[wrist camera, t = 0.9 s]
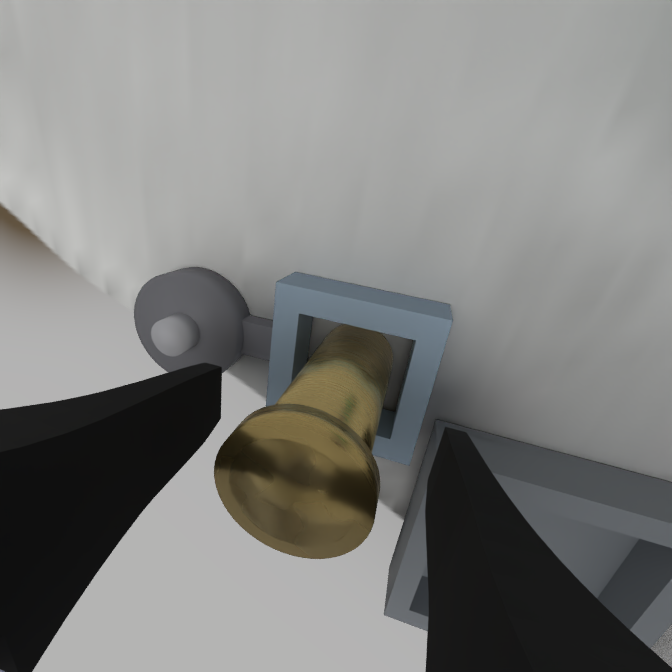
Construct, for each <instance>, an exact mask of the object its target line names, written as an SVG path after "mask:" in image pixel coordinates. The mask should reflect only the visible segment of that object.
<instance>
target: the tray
mask: <svg viewBox="0 0 672 672" xmlns="http://www.w3.org/2000/svg"><path fill="white" fill-rule="evenodd" d="M445 427H449V428H452V429H456V430H460V431H464V432H467V434H468V435H469V437H470V438H471V440H472V442H473V443H474V445H475V447H476V448H477V450H478V451H479V453H480V455H481V456H482V458H483V459H484V461H485V463H486V464H487V466H488V467H489V469H490V470H491V472H492V473H493V475H494V476H495V478H496V479H497V481H498V482H499V484H500V485H501V487H502V488H503V490H504V491H505V492H506V494H507V495H508V497H509V498H510V499H511V501H512V502H513V503H514V505H515V506H516V507H517V509H518V510H519V511H520V513H521V514H522V515H523V517H524V518H525V519H526V521H527V522H528V523H529V524H530V526H531V527H532V528H533V529H534V530H535V532H536V533H537V534H538V535H539V536H540V538H541V539H542V540H543V541H544V542H545V543H546V545H547V546H548V547H549V548H550V549H551V550H552V551H553V553H554V554H555V555H556V556H557V557H558V558H559V559H560V561H561V562H562V563H563V564H564V565H565V566H566V567H567V568H568V569H569V570H570V571H571V572H572V573H573V575H574V576H575V577H576V578H577V579H578V580H579V581H580V582H581V583H582V584H583V585H584V586H585V587H586V588H587V589H588V590H589V591H590V592H591V593H592V594H593V595H594V596H595V597H596V598H597V599H598V600H599V601H600V602H601V603H602V604H603V605H604V606H605V607H606V608H607V609H608V610H609V611H610V612H611V613H612V614H613V615H614V616H615V617H617V618H618V619H619V620H620V621H621V622H622V623H623V624H624V625H625V626H626V627H627V628H628V629H629V630H630V631H631V632H632V633H634V634H635V635H636V636H637V637H638V638H639V639H640V640H641V641H642V642H644V643H645V644H646V645H647V646H648V647H649V648H651V647H652V646H653V645H654V644H655V642H656V641H657V640H658V639H659V638H660V637H661V636H662V634H663V633H664V632H665V631H666V630H667V629H668V628H669V627H670V625H671V624H672V482H668V481H664V480H661V479H657V478H653V477H649V476H646V475H642V474H638V473H635V472H631V471H627V470H623V469H620V468H616V467H612V466H608V465H605V464H601V463H597V462H593V461H590V460H586V459H582V458H578V457H575V456H571V455H567V454H564V453H560V452H556V451H552V450H549V449H545V448H541V447H537V446H534V445H530V444H526V443H522V442H519V441H515V440H511V439H508V438H504V437H500V436H496V435H493V434H489V433H485V432H481V431H478V430H474V429H470V428H466V427H463V426H459V425H455V424H451V423H448V422H444V421H440V420H437V419H436V421H435V425H434V428H433V431H432V434H431V437H430V440H429V444H428V447H427V450H426V453H425V456H424V459H423V462H422V466H421V469H420V472H419V475H418V478H417V481H416V485H415V488H414V491H413V494H412V497H411V500H410V504H409V507H408V510H407V513H406V516H405V519H404V522H403V526H402V529H401V532H400V535H399V538H398V541H397V545H396V548H395V551H394V554H393V557H392V560H391V564H390V567H389V575H388V584H387V593H386V601H385V610H384V615H385V616H388V617H391V618H394V619H396V620H399V621H402V622H404V623H407V624H410V625H412V626H415V627H418V628H420V629H423V630H426V631H428V615H429V595H428V571H427V548H426V524H425V506H426V493H427V481H428V477H429V474H430V471H431V468H432V465H433V462H434V459H435V456H436V453H437V450H438V447H439V444H440V441H441V438H442V435H443V432H444V429H445Z"/></svg>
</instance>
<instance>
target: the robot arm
mask: <svg viewBox="0 0 672 672" xmlns="http://www.w3.org/2000/svg"><path fill="white" fill-rule="evenodd" d="M221 376H222V367H220V366H217V365H213V364H209V363H200V364H196V365H192V366H188V367H185V368H182V369H178V370H175V371H172V372H169V373H165V374H162V375H159V376H156V377H152V378H149V379H146V380H143V381H139V382H136V383H132V384H128V385H125V386H121V387H117V388H114V389H110V390H107V391H103V392H99V393H95V394H90V395H86V396H81V397H76V398H71V399H67V400H62V401H56V402H50V403H44V404H37V405H30V406H23V407H17V408H10V409H2V410H0V672H32V671H33V669H34V668H35V666H36V665H37V663H38V661H39V660H40V658H41V656H42V655H43V653H44V652H45V650H46V649H47V647H48V646H49V644H50V642H51V641H52V639H53V638H54V636H55V635H56V633H57V631H58V630H59V628H60V627H61V625H62V624H63V622H64V621H65V619H66V617H67V616H68V615H69V613H70V612H71V610H72V608H73V607H74V606H75V604H76V602H77V601H78V600H79V598H80V597H81V595H82V594H83V592H84V591H85V589H86V588H87V586H88V585H89V583H90V582H91V581H92V579H93V577H94V576H95V575H96V573H97V572H98V571H99V569H100V568H101V566H102V565H103V563H104V562H105V561H106V559H107V558H108V557H109V555H110V554H111V552H112V551H113V549H114V548H115V547H116V545H117V544H118V543H119V541H120V540H121V539H122V537H123V536H124V535H125V533H126V532H127V530H128V529H129V528H130V527H131V525H132V524H133V523H134V522H135V520H136V519H137V517H138V516H139V515H140V514H141V512H142V511H143V510H144V509H145V508H146V506H147V505H148V504H149V503H150V502H151V500H152V499H153V498H154V497H155V496H156V495H157V494H158V493H159V492H160V490H161V489H162V488H163V487H164V486H165V485H166V484H167V483H168V482H169V481H170V480H171V479H172V477H173V476H174V475H175V474H176V473H177V472H178V471H179V470H180V469H181V468H182V467H183V466H184V464H185V463H186V462H187V461H188V460H189V459H190V458H191V457H192V456H193V454H194V453H195V452H196V451H197V450H198V449H199V448H200V447H201V445H202V444H203V443H204V442H205V440H206V439H207V438H208V436H209V435H210V433H211V432H212V431H213V429H214V428H215V426H216V425H217V423H218V422H219V420H220V419H221V381H222V377H221ZM425 524H426V548H427V571H428V595H429V615H428V638H427V658H426V672H672V668H671V667H670V666H669V665H668V664H667V663H666V662H664V661H663V660H662V659H661V658H660V657H659V656H658V655H657V654H656V653H655V652H653V651H652V650H651V649H650V648H649V647H648V646H647V645H646V644H645V643H644V642H642V641H641V640H640V639H639V638H638V637H637V636H636V635H635V634H634V633H632V632H631V631H630V630H629V629H628V628H627V627H626V626H625V625H624V624H623V623H622V622H621V621H620V620H619V619H618V618H617V617H615V616H614V615H613V614H612V613H611V612H610V611H609V610H608V609H607V608H606V607H605V606H604V605H603V604H602V603H601V602H600V601H599V600H598V599H597V598H596V597H595V596H594V595H593V594H592V593H591V592H590V591H589V590H588V589H587V588H586V587H585V586H584V585H583V584H582V583H581V582H580V581H579V580H578V579H577V578H576V577H575V576H574V575H573V573H572V572H571V571H570V570H569V569H568V568H567V567H566V566H565V565H564V564H563V563H562V562H561V561H560V559H559V558H558V557H557V556H556V555H555V554H554V553H553V551H552V550H551V549H550V548H549V547H548V546H547V545H546V543H545V542H544V541H543V540H542V539H541V538H540V536H539V535H538V534H537V533H536V532H535V530H534V529H533V528H532V527H531V526H530V524H529V523H528V522H527V521H526V519H525V518H524V517H523V515H522V514H521V513H520V511H519V510H518V509H517V507H516V506H515V505H514V503H513V502H512V501H511V499H510V498H509V497H508V495H507V494H506V492H505V491H504V490H503V488H502V487H501V485H500V484H499V482H498V481H497V479H496V478H495V476H494V475H493V473H492V472H491V470H490V469H489V467H488V466H487V464H486V463H485V461H484V459H483V458H482V456H481V455H480V453H479V451H478V450H477V448H476V447H475V445H474V443H473V442H472V440H471V438H470V437H469V435H468V434H467V432H464V431H460V430H456V429H452V428H449V427H445V429H444V432H443V435H442V438H441V441H440V444H439V447H438V450H437V453H436V456H435V459H434V462H433V465H432V468H431V471H430V474H429V477H428V481H427V493H426V506H425Z"/></svg>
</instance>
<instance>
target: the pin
mask: <svg viewBox="0 0 672 672" xmlns="http://www.w3.org/2000/svg"><path fill="white" fill-rule="evenodd" d="M392 364H393V354H392V350H391V347H390V345H389V343H388V341H387V340H386V339H385V337H384V336H383V335H382V334H381V333H380V332H377V331H373V330H369V329H364V328H360V327H356V326H351V325H347V324H344V325H341V326H339V327H337V328H335V329H334V330H332V331H331V332H330V333H329V334H328V335H327V337H326V338H325V339H324V341H323V342H322V343H321V345H320V346H319V347H318V349H317V350H316V351H315V352H314V354H313V355H312V356H311V358H310V359H309V360H308V362H307V363H306V364H305V366H304V367H303V368H302V369H301V371H300V372H299V373H298V375H297V376H296V377H295V379H294V380H293V381H292V383H291V384H290V385H289V386H288V388H287V389H286V390H285V392H284V393H283V394H282V396H281V397H280V398H279V400H278V401H277V402H276V404H275V405H270V406H267V407H263V408H261V409H259V410H257V411H254V412H253V413H252V414H250V415H249V416H247V417H246V418H245V419H244V420H243V421H242V422H241V423H240V424H239V426H238V427H237V428H236V429H235V430H234V432H233V433H232V434H231V435H230V436H229V437H228V439H227V440H226V441H225V442H224V443H223V445H222V446H221V448H220V450H219V452H218V454H217V456H216V460H215V466H214V478H215V484H216V488H217V490H218V494H219V496H220V498H221V500H222V502H223V504H224V506H225V508H226V509H227V511H228V512H229V513H230V515H231V516H232V517H233V519H234V520H235V521H236V522H237V523H238V524H239V525H240V526H241V527H242V528H243V529H244V530H245V531H247V532H248V533H249V534H250V535H252V536H253V537H254V538H256V539H257V540H259V541H260V542H262V543H264V544H265V545H267V546H269V547H271V548H273V549H275V550H278V551H280V552H283V553H287V554H289V555H293V556H297V557H302V558H310V559H325V558H332V557H337V556H340V555H343V554H346V553H348V552H350V551H352V550H354V549H355V548H357V547H358V546H359V545H360V544H362V542H363V541H364V540H365V539H366V538H367V536H368V535H369V533H370V532H371V529H372V527H373V524H374V519H375V514H376V508H377V503H378V497H379V491H380V476H379V470H378V467H377V464H376V461H375V459H374V457H373V455H372V450H373V446H374V442H375V437H376V433H377V429H378V425H379V420H380V416H381V412H382V408H383V403H384V399H385V395H386V391H387V386H388V382H389V378H390V374H391V369H392Z"/></svg>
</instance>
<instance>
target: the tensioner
mask: <svg viewBox="0 0 672 672" xmlns="http://www.w3.org/2000/svg"><path fill="white" fill-rule="evenodd" d="M313 317H317V318H321V319H325V320H330V321H334V322H338V323H343V324H347V325H351V326H356V327H360V328H364V329H369V330H373V331H377V332H381V333H386V334H390V335H394V336H399V337H403V338H407V339H412V340H414V341H413V345H412V348H411V352H410V356H409V360H408V364H407V368H406V372H405V376H404V379H403V383H402V387H401V391H400V395H399V399H398V403H397V407H396V410H395V412H392V411H388V410H385V409H382V412H381V416H380V420H379V425H378V429H377V433H376V437H375V442H374V446H373V450H372V455H375V456H378V457H381V458H385V459H388V460H392V461H395V462H398V463H402V464H405V465H410V462H411V459H412V455H413V452H414V449H415V445H416V442H417V439H418V435H419V432H420V429H421V425H422V422H423V419H424V415H425V412H426V409H427V405H428V402H429V399H430V395H431V392H432V388H433V385H434V382H435V378H436V375H437V372H438V368H439V365H440V362H441V358H442V355H443V352H444V348H445V345H446V342H447V338H448V335H449V332H450V328H451V325H452V322H453V319H452V313H451V307H450V304H445V303H440V302H435V301H431V300H426V299H421V298H416V297H412V296H407V295H402V294H398V293H393V292H388V291H383V290H379V289H374V288H369V287H364V286H360V285H355V284H350V283H345V282H341V281H336V280H331V279H326V278H322V277H317V276H312V275H308V274H303V273H298V272H294V273H292V274H290V275H289V276H287V277H285V278H283V279H281V280H279V281H277V282H276V291H275V303H274V315H273V321H272V320H268V319H264V318H260V317H256V316H252V315H250V313H249V310H248V308H247V305H246V303H245V301H244V299H243V297H242V296H241V294H240V293H239V292H238V290H237V289H236V288H235V287H234V286H233V285H232V284H231V283H230V282H229V281H228V280H227V279H225V278H224V277H223V276H221V275H219V274H217V273H216V272H213V271H211V270H208V269H205V268H199V267H189V268H184V269H180V270H176V271H173V272H169V273H166V274H162V275H159V276H156V277H154V278H152V279H151V280H149V281H148V282H147V283H146V284H145V285H144V286H143V287H142V288H141V290H140V292H139V293H138V296H137V298H136V302H135V308H134V319H135V326H136V330H137V333H138V336H139V338H140V340H141V342H142V344H143V346H144V348H145V349H146V351H147V352H148V354H149V355H150V356H151V357H152V359H153V360H154V361H155V362H156V363H157V364H158V365H159V366H161V367H162V368H163V369H165V370H166V371H167V372H172V371H175V370H178V369H182V368H185V367H188V366H192V365H196V364H200V363H209V364H213V365H217V366H220V367H222V373H223V372H224V371H225V370H227V369H228V368H229V367H230V366H231V365H233V364H234V363H235V362H236V361H237V360H239V359H240V358H241V357H242V356H243V355H248V356H252V357H256V358H260V359H264V360H268V361H270V363H269V375H268V387H267V399H266V407H267V406H270V405H275V404H276V402H277V401H278V400H279V398H280V397H281V396H282V394H283V393H284V392H285V390H286V389H287V388H288V386H289V385H290V384H291V383H292V381H293V380H294V379H295V377H296V376H297V375H298V373H299V372H300V371H301V369H302V368H303V367H304V366H305V364H306V363H307V357H308V349H309V341H310V334H311V326H312V318H313Z"/></svg>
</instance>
